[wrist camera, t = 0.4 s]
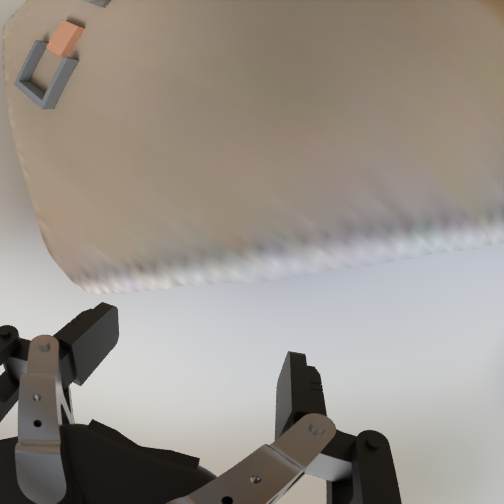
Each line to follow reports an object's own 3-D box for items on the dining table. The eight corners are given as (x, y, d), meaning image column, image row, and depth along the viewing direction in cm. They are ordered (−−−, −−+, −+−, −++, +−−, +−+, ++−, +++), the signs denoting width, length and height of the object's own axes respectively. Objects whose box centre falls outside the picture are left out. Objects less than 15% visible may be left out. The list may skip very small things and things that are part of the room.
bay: (45, 42, 23) (35, 40, 21) (78, 60, 25) (67, 58, 23) (24, 84, 26) (14, 84, 24) (54, 108, 28) (42, 109, 26)
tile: (70, 22, 23) (62, 19, 21) (86, 29, 23) (78, 26, 22) (53, 49, 25) (45, 47, 23) (68, 58, 25) (60, 56, 24)
